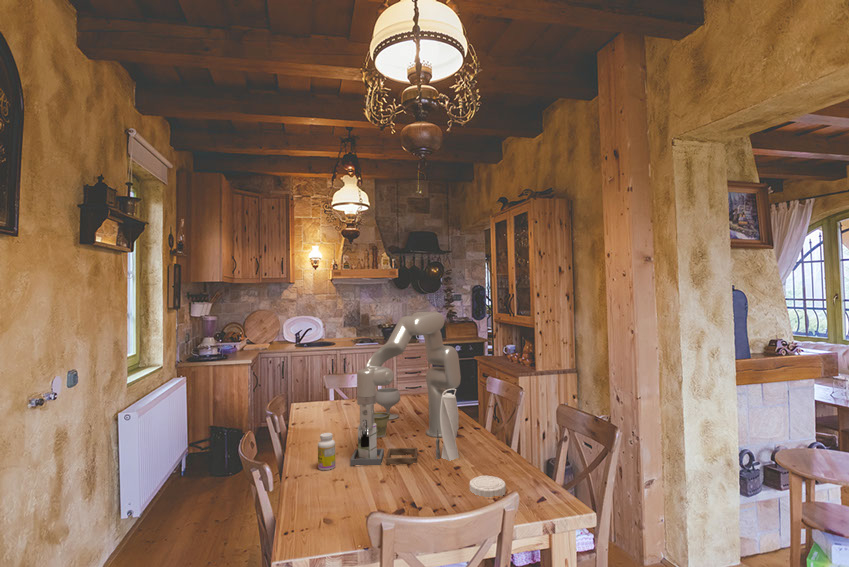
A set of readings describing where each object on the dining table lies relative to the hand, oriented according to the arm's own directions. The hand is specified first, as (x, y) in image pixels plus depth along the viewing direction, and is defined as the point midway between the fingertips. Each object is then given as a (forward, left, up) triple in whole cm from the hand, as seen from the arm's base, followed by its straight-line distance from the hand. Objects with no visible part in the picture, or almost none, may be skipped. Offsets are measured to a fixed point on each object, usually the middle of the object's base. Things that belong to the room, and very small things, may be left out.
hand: (366, 442), depth 178 cm
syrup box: (0, 0, -7) cm, 7 cm away
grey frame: (0, 0, -7) cm, 7 cm away
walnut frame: (-14, 0, -7) cm, 16 cm away
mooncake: (-44, +31, -8) cm, 54 cm away
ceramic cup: (-2, -33, -7) cm, 34 cm away
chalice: (-3, -64, -7) cm, 65 cm away
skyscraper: (-33, +1, -8) cm, 34 cm away
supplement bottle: (+15, +7, -7) cm, 18 cm away
